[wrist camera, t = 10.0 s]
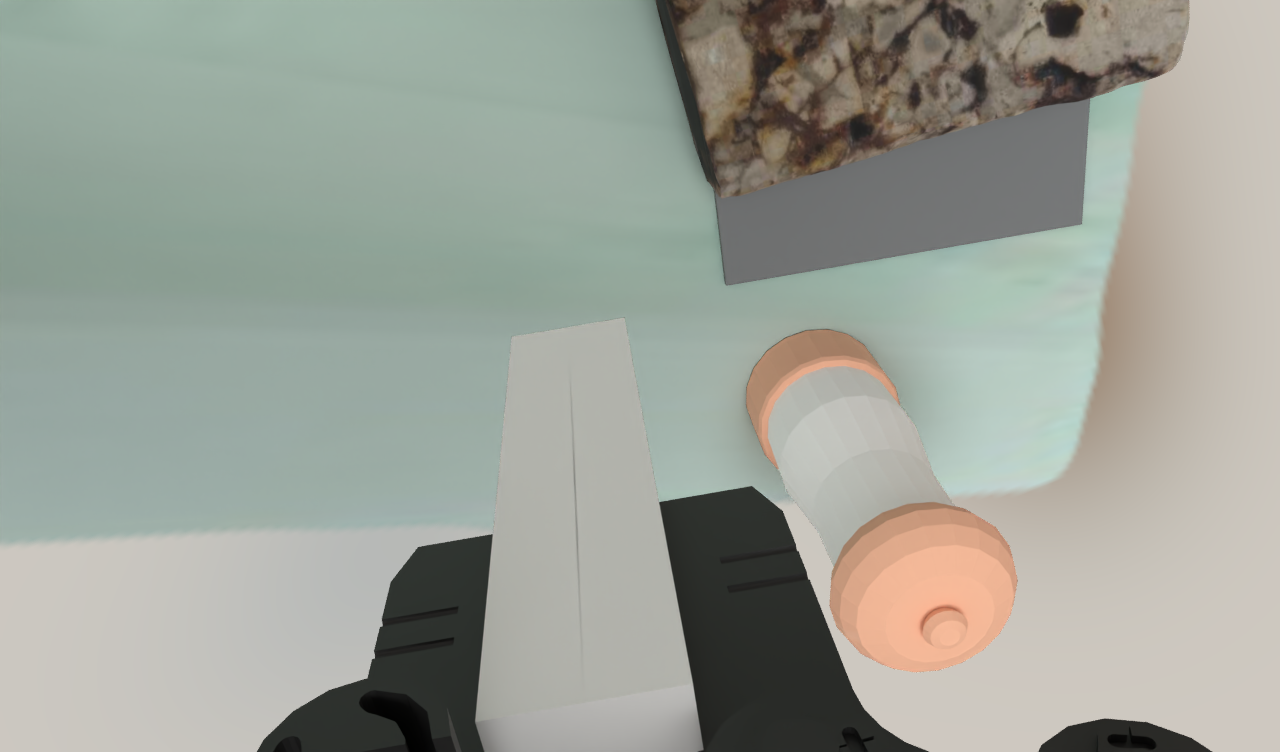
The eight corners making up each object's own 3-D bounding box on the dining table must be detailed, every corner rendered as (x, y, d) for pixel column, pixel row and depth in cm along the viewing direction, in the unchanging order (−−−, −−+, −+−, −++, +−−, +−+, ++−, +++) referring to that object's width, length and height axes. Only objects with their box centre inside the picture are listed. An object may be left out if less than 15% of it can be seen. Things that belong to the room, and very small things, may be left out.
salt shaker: (817, 301, 48) (968, 515, 30) (907, 385, 50) (1092, 625, 33) (717, 398, 50) (805, 650, 32) (808, 473, 52) (934, 744, 35)
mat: (725, 282, 47) (726, 285, 46) (665, -234, 37) (666, -235, 37) (1077, 221, 47) (1081, 224, 47) (1110, -308, 37) (1115, -310, 37)
